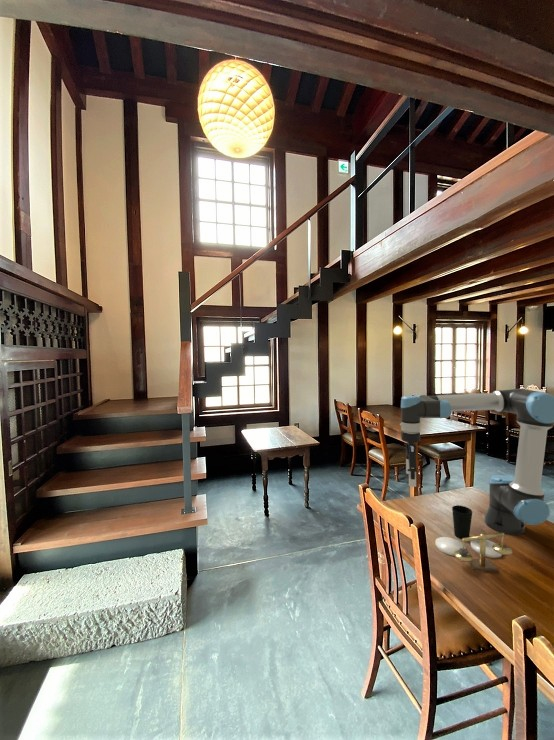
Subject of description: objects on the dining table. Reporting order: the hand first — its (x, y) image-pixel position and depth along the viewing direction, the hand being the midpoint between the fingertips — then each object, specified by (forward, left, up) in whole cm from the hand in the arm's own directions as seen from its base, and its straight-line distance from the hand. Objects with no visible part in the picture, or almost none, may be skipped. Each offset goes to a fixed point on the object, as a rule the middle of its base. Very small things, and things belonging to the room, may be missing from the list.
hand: (410, 479), depth 137 cm
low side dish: (-14, +6, -26) cm, 30 cm away
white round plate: (-28, +6, -26) cm, 39 cm away
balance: (-21, +17, -26) cm, 38 cm away
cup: (-23, -3, -26) cm, 35 cm away
